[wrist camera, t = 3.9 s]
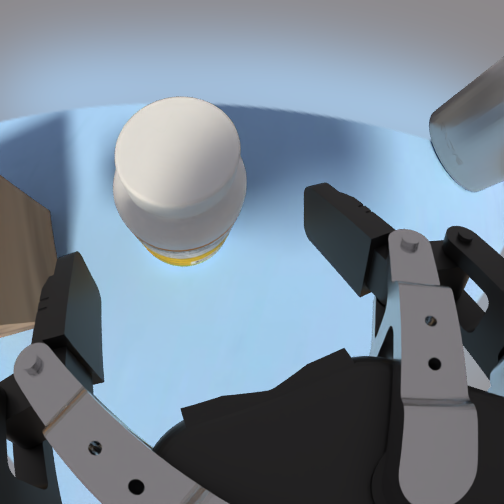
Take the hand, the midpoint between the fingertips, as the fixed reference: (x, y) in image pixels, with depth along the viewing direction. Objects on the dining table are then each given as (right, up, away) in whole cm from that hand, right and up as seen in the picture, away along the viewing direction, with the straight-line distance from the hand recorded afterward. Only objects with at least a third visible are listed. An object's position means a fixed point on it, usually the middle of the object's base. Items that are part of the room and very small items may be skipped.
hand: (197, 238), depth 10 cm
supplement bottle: (-2, +1, +8) cm, 9 cm away
